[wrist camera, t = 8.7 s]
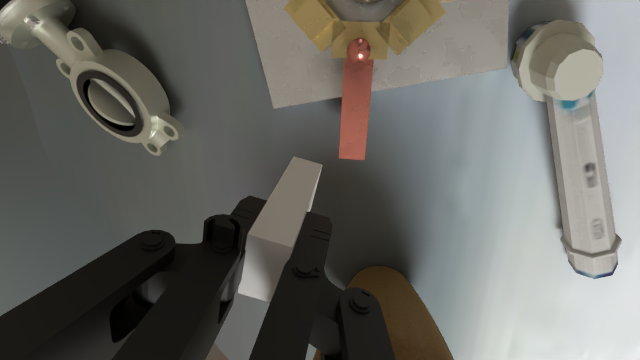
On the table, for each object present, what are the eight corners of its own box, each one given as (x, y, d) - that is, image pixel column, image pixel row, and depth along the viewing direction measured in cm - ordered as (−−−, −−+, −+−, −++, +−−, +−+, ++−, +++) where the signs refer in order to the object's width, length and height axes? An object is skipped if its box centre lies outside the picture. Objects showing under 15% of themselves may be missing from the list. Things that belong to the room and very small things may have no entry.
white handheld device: (575, 286, 33) (537, 54, 22) (543, 239, 39) (500, 35, 27) (637, 273, 32) (631, 15, 20) (595, 226, 37) (571, 3, 26)
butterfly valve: (208, 111, 34) (59, -45, 28) (27, 272, 20) (-344, 33, 14) (172, 143, 40) (40, 18, 34) (9, 287, 26) (-265, 119, 20)
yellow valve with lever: (289, -129, 23) (267, -168, 18) (464, -134, 21) (490, -177, 17) (293, 141, 32) (279, 163, 27) (416, 150, 30) (424, 175, 26)
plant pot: (417, 340, 45) (436, 488, 31) (312, 310, 46) (284, 443, 31) (463, 259, 38) (515, 402, 24) (339, 224, 39) (319, 345, 25)
